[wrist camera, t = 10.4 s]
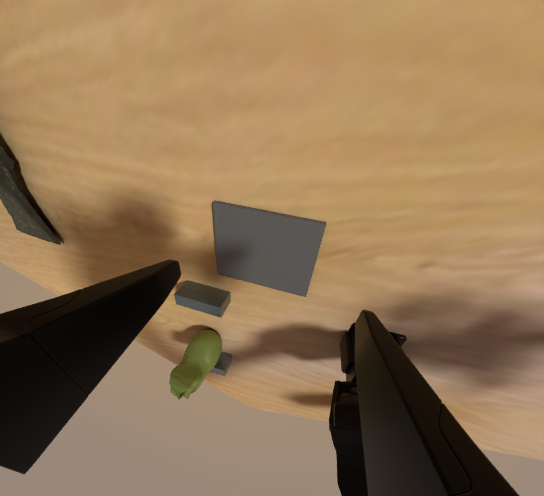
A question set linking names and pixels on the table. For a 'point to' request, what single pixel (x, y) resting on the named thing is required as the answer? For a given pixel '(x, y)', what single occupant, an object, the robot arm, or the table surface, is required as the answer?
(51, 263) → the table surface
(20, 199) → the tool
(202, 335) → the pear
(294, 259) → the mat
